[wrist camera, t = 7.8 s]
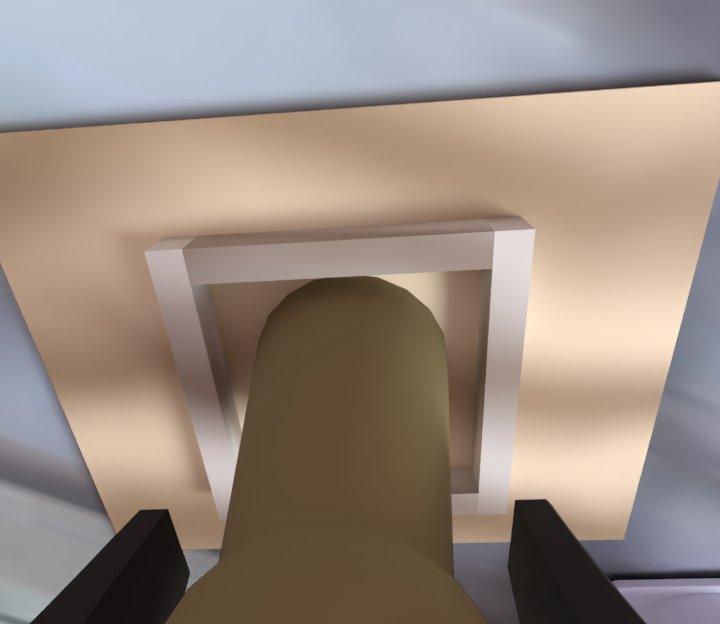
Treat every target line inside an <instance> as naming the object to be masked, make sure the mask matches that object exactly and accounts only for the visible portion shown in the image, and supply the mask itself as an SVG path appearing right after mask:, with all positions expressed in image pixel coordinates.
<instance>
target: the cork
mask: <svg viewBox="0 0 720 624" xmlns="http://www.w3.org/2000/svg"><path fill="white" fill-rule="evenodd" d="M165 624H487V622H486V620H485V618H484V616H483V614H482V613H481V611H480V610H479V609H478V607H477V606H476V605H475V603H474V602H473V601H472V599H471V598H470V597H469V595H468V594H467V593H466V591H465V590H464V589H463V587H462V586H461V585H460V584H459V583H458V582H457V581H456V580H455V579H454V567H453V532H452V497H451V462H450V426H449V391H448V359H447V352H446V346H445V339H444V333H443V332H442V330H441V328H440V326H439V325H438V323H437V321H436V319H435V318H434V316H433V314H432V312H431V311H430V309H429V308H428V307H427V306H425V305H424V304H423V303H422V302H421V301H420V300H419V299H417V298H416V297H415V296H414V295H413V294H412V293H410V292H409V291H408V290H407V289H404V288H402V287H400V286H397V285H395V284H393V283H390V282H388V281H386V280H383V279H381V278H378V277H371V276H351V277H332V278H322V279H317V280H313V281H311V282H310V283H308V284H306V285H304V286H302V287H300V288H299V289H297V290H295V291H293V292H291V293H289V294H288V295H287V296H286V297H285V298H284V299H283V300H282V301H281V302H280V303H279V304H278V305H277V307H276V308H275V309H274V310H273V311H272V312H271V313H270V314H269V315H268V318H267V320H266V323H265V325H264V328H263V330H262V333H261V335H260V338H259V341H258V346H257V352H256V358H255V363H254V369H253V374H252V380H251V385H250V391H249V397H248V402H247V408H246V413H245V419H244V424H243V430H242V435H241V441H240V447H239V452H238V458H237V463H236V469H235V474H234V480H233V486H232V491H231V497H230V502H229V508H228V513H227V519H226V525H225V530H224V536H223V541H222V547H221V552H220V558H219V563H218V564H217V565H215V566H214V567H213V568H212V569H211V570H210V571H208V572H207V573H206V574H205V575H204V576H202V577H201V578H200V579H199V580H198V581H197V582H195V583H194V584H193V585H192V586H191V587H190V588H188V590H187V591H186V593H185V594H184V596H183V597H182V599H181V600H180V602H179V603H178V605H177V606H176V608H175V609H174V611H173V612H172V614H171V615H170V617H169V618H168V620H167V621H166V623H165Z"/></svg>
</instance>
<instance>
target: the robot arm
mask: <svg viewBox="0 0 720 624" xmlns="http://www.w3.org/2000/svg"><path fill="white" fill-rule="evenodd" d="M508 570H509V575H510V580H511V585H512V590H513V594H514V599H515V603H516V608H517V612H518V617H519V621H520V624H720V578H699V579H646V580H615V581H612V582H611V581H610V580H609V578H608V577H607V576H606V575H605V574H604V572H603V571H602V570H601V569H600V567H599V566H598V565H597V564H596V562H595V561H594V560H593V559H592V557H591V556H590V555H589V553H588V552H587V551H586V550H585V548H584V547H583V546H582V545H581V543H580V542H579V541H578V539H577V538H576V537H575V535H574V534H573V533H572V531H571V530H570V529H569V528H568V526H567V525H566V524H565V522H564V521H563V519H562V518H561V517H560V515H559V514H558V513H557V511H556V510H555V509H554V507H553V506H552V504H551V503H550V502H549V501H547V500H546V499H529V500H515V505H514V514H513V523H512V533H511V542H510V551H509V560H508ZM189 575H190V571H189V568H188V566H187V563H186V560H185V557H184V554H183V551H182V548H181V545H180V542H179V539H178V536H177V534H176V531H175V528H174V525H173V522H172V519H171V516H170V513H169V510H168V509H147V510H139V511H138V512H137V513H136V514H135V515H134V516H133V517H132V518H131V520H130V521H129V522H128V523H127V524H126V525H125V526H124V527H123V528H122V529H121V530H120V531H119V532H118V533H117V534H116V535H115V536H114V537H113V538H112V539H111V540H110V541H109V542H108V544H107V545H106V546H105V547H104V548H103V549H102V550H101V551H100V552H99V553H98V554H97V555H96V556H95V557H94V558H93V559H92V560H91V561H90V562H89V564H88V565H87V566H86V567H85V568H84V569H83V570H82V571H81V572H80V573H79V574H78V575H77V576H76V577H75V578H74V579H73V580H72V581H71V582H70V583H69V584H68V585H67V586H66V587H65V588H64V589H63V590H62V591H61V592H60V593H59V595H58V596H57V597H56V598H55V599H54V600H53V601H52V602H51V603H50V604H49V605H48V606H47V607H46V608H45V609H44V610H43V611H42V612H41V613H40V614H39V615H38V616H37V617H36V618H35V619H34V620H33V621H32V622H31V623H30V624H165V623H166V621H167V620H168V618H169V617H170V615H171V614H172V612H173V611H174V609H175V608H176V606H177V605H178V603H179V602H180V600H181V599H182V597H183V596H184V594H185V591H186V587H187V583H188V579H189Z"/></svg>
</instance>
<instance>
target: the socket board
mask: <svg viewBox="0 0 720 624" xmlns="http://www.w3.org/2000/svg"><path fill="white" fill-rule="evenodd" d="M719 178H720V81H712V82H698V83H685V84H671V85H657V86H643V87H629V88H615V89H601V90H587V91H573V92H559V93H545V94H532V95H518V96H504V97H490V98H476V99H462V100H448V101H434V102H420V103H406V104H392V105H379V106H365V107H351V108H337V109H323V110H309V111H295V112H281V113H267V114H253V115H240V116H226V117H212V118H198V119H184V120H170V121H156V122H142V123H128V124H114V125H100V126H87V127H73V128H59V129H45V130H31V131H17V132H3V133H0V263H1V266H2V268H3V270H4V273H5V275H6V277H7V280H8V282H9V284H10V287H11V289H12V291H13V294H14V296H15V298H16V301H17V303H18V305H19V308H20V310H21V312H22V315H23V317H24V319H25V322H26V324H27V326H28V329H29V331H30V333H31V336H32V338H33V340H34V343H35V345H36V347H37V350H38V352H39V354H40V357H41V359H42V361H43V364H44V366H45V368H46V371H47V373H48V376H49V378H50V380H51V383H52V385H53V387H54V390H55V392H56V394H57V397H58V399H59V401H60V404H61V406H62V408H63V411H64V413H65V415H66V418H67V420H68V422H69V425H70V427H71V429H72V432H73V434H74V436H75V439H76V441H77V443H78V446H79V448H80V450H81V453H82V455H83V457H84V460H85V462H86V464H87V467H88V469H89V471H90V474H91V476H92V478H93V481H94V483H95V485H96V488H97V490H98V492H99V495H100V497H101V499H102V502H103V504H104V506H105V509H106V511H107V513H108V516H109V518H110V520H111V523H112V525H113V527H114V530H115V532H116V534H117V533H118V532H119V531H120V530H121V529H122V528H123V527H124V526H125V525H126V524H127V523H128V522H129V521H130V520H131V518H132V517H133V516H134V515H135V514H136V513H137V512H138V511H139V510H147V509H168V510H169V513H170V516H171V519H172V522H173V525H174V528H175V531H176V534H177V536H178V539H179V542H180V545H181V548H182V550H192V549H221V547H222V541H223V536H224V530H225V525H226V519H227V513H228V508H229V502H230V497H231V491H232V486H233V480H234V474H235V469H236V463H237V458H238V452H239V447H240V441H241V435H242V430H243V424H244V419H245V413H246V408H247V402H248V397H249V391H250V385H251V380H252V374H253V369H254V363H255V358H256V352H257V346H258V341H259V338H260V335H261V333H262V330H263V328H264V325H265V323H266V320H267V318H268V315H269V314H270V313H271V312H272V311H273V310H274V309H275V308H276V307H277V305H278V304H279V303H280V302H281V301H282V300H283V299H284V298H285V297H286V296H287V295H288V294H289V293H291V292H293V291H295V290H297V289H299V288H300V287H302V286H304V285H306V284H308V283H310V282H311V281H313V280H317V279H322V278H332V277H351V276H371V277H378V278H381V279H383V280H386V281H388V282H390V283H393V284H395V285H397V286H400V287H402V288H404V289H407V290H408V291H409V292H410V293H412V294H413V295H414V296H415V297H416V298H417V299H419V300H420V301H421V302H422V303H423V304H424V305H425V306H427V307H428V308H429V309H430V311H431V312H432V314H433V316H434V318H435V319H436V321H437V323H438V325H439V326H440V328H441V330H442V332H443V333H444V339H445V346H446V352H447V359H448V391H449V426H450V462H451V497H452V532H453V543H492V542H511V533H512V523H513V514H514V505H515V500H529V499H546V500H547V501H549V502H550V503H551V504H552V506H553V507H554V509H555V510H556V511H557V513H558V514H559V515H560V517H561V518H562V519H563V521H564V522H565V524H566V525H567V526H568V528H569V529H570V530H571V531H572V533H573V534H574V535H575V537H576V538H577V539H578V540H621V539H624V536H625V533H626V529H627V525H628V521H629V518H630V514H631V510H632V506H633V502H634V499H635V495H636V491H637V487H638V484H639V480H640V476H641V472H642V468H643V465H644V461H645V457H646V453H647V450H648V446H649V442H650V438H651V434H652V431H653V427H654V423H655V419H656V416H657V412H658V408H659V404H660V400H661V397H662V393H663V389H664V385H665V382H666V378H667V374H668V370H669V366H670V363H671V359H672V355H673V351H674V348H675V344H676V340H677V336H678V332H679V329H680V325H681V321H682V317H683V314H684V310H685V306H686V302H687V298H688V295H689V291H690V287H691V283H692V280H693V276H694V272H695V268H696V264H697V261H698V257H699V253H700V249H701V246H702V242H703V238H704V234H705V230H706V227H707V223H708V219H709V215H710V212H711V208H712V204H713V200H714V196H715V193H716V189H717V185H718V181H719Z"/></svg>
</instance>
